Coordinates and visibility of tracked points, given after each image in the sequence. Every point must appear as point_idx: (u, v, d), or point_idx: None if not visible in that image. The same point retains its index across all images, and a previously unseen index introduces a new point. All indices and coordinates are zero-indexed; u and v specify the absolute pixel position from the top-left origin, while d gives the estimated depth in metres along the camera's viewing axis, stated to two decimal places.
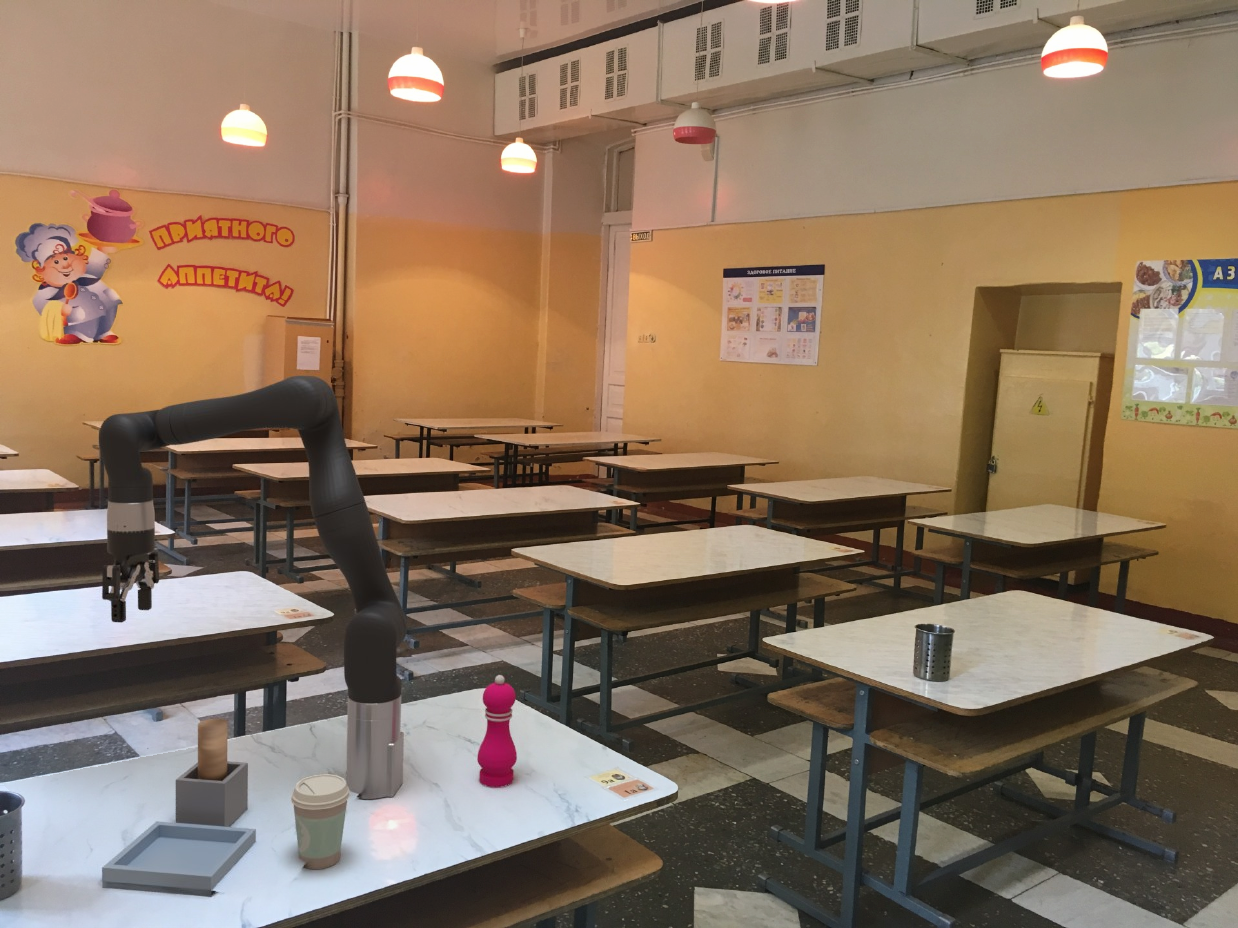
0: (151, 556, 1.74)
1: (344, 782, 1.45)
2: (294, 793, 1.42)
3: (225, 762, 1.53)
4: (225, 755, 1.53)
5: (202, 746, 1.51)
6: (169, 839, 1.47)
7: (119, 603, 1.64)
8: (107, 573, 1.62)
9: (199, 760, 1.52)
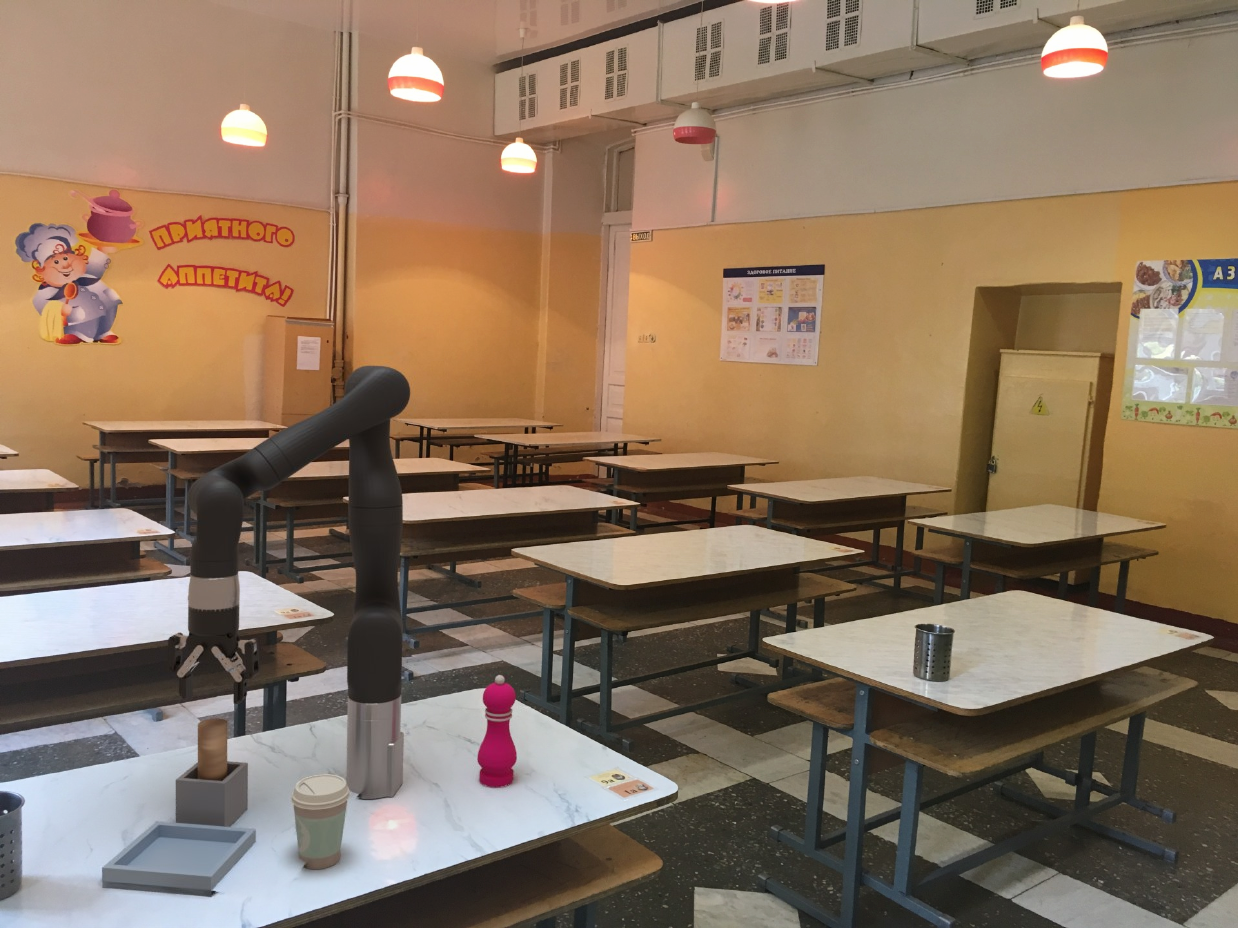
0: None
1: (344, 782, 1.45)
2: (294, 793, 1.42)
3: (225, 762, 1.53)
4: (225, 755, 1.53)
5: (202, 746, 1.51)
6: (169, 839, 1.47)
7: (246, 680, 1.52)
8: (254, 648, 1.51)
9: (199, 760, 1.52)
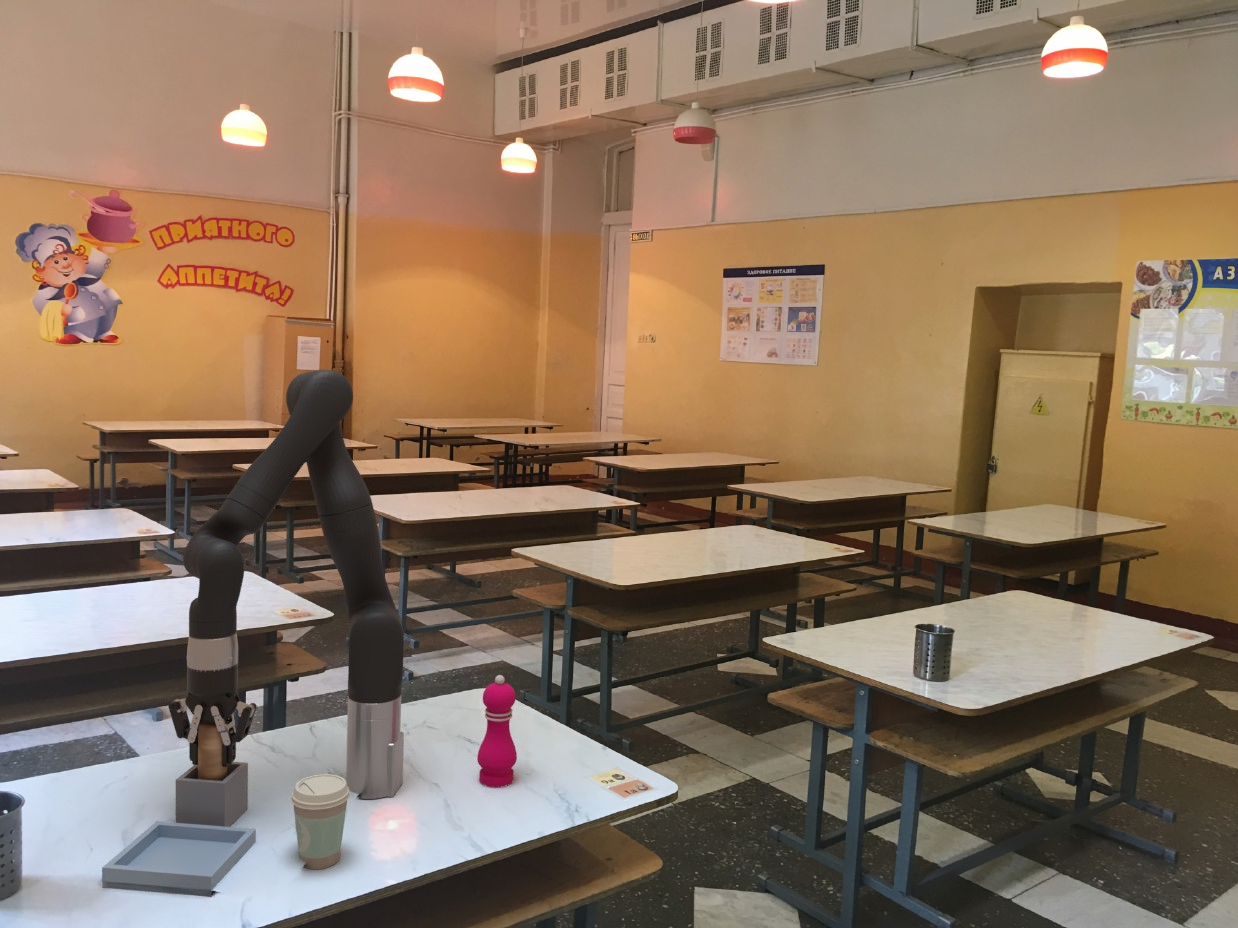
0: None
1: (344, 782, 1.45)
2: (294, 793, 1.42)
3: None
4: None
5: (203, 746, 1.51)
6: (169, 839, 1.47)
7: (234, 742, 1.54)
8: (250, 715, 1.52)
9: (199, 760, 1.52)
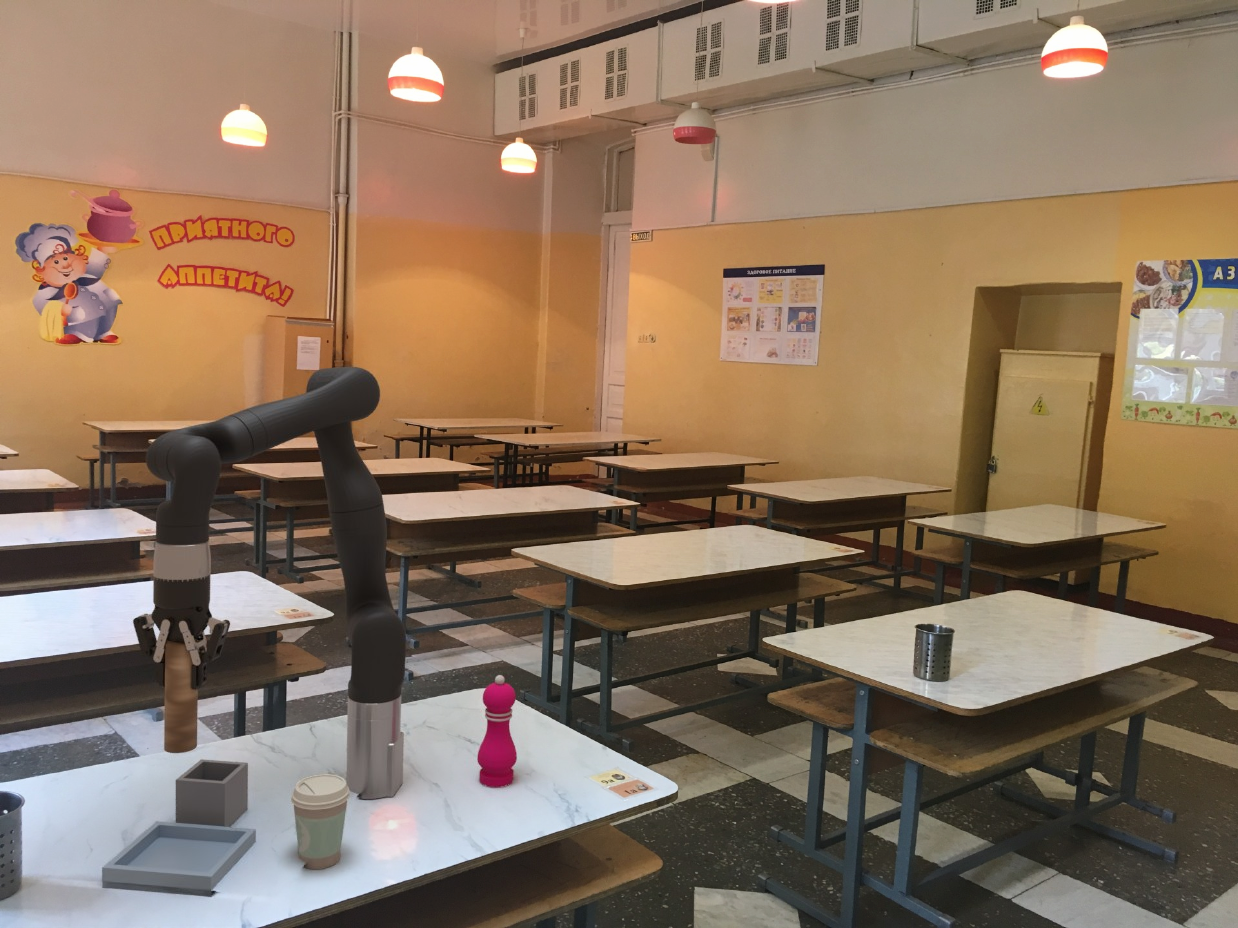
0: None
1: (344, 782, 1.45)
2: (294, 793, 1.42)
3: None
4: None
5: (170, 666, 1.37)
6: (169, 839, 1.47)
7: (205, 663, 1.39)
8: (223, 632, 1.37)
9: (166, 681, 1.37)
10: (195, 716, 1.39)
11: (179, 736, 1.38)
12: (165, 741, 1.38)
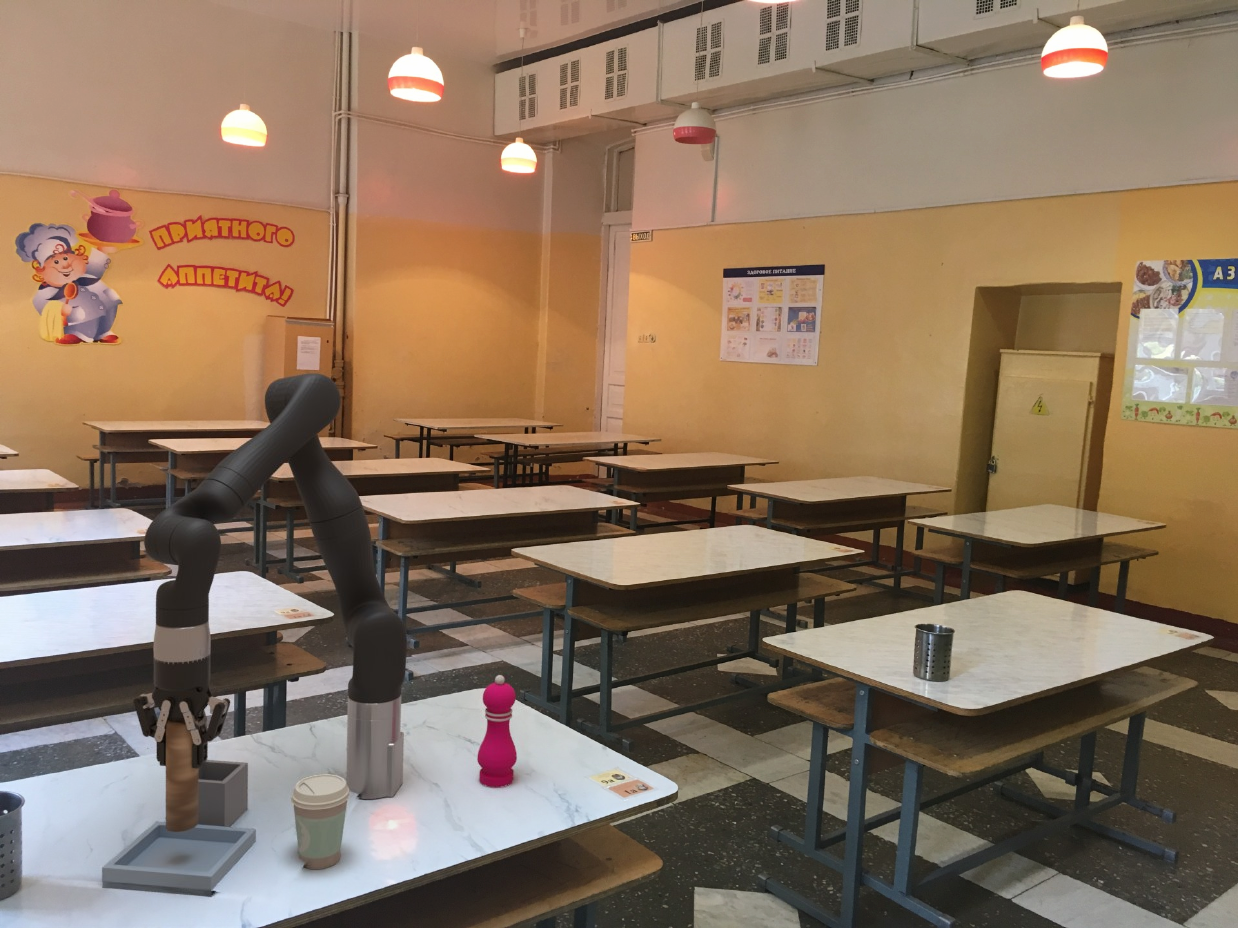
0: None
1: (344, 782, 1.45)
2: (294, 793, 1.42)
3: None
4: None
5: (171, 746, 1.38)
6: (169, 839, 1.47)
7: (206, 742, 1.40)
8: (223, 711, 1.38)
9: (167, 761, 1.38)
10: (196, 794, 1.40)
11: (181, 815, 1.39)
12: (166, 819, 1.39)
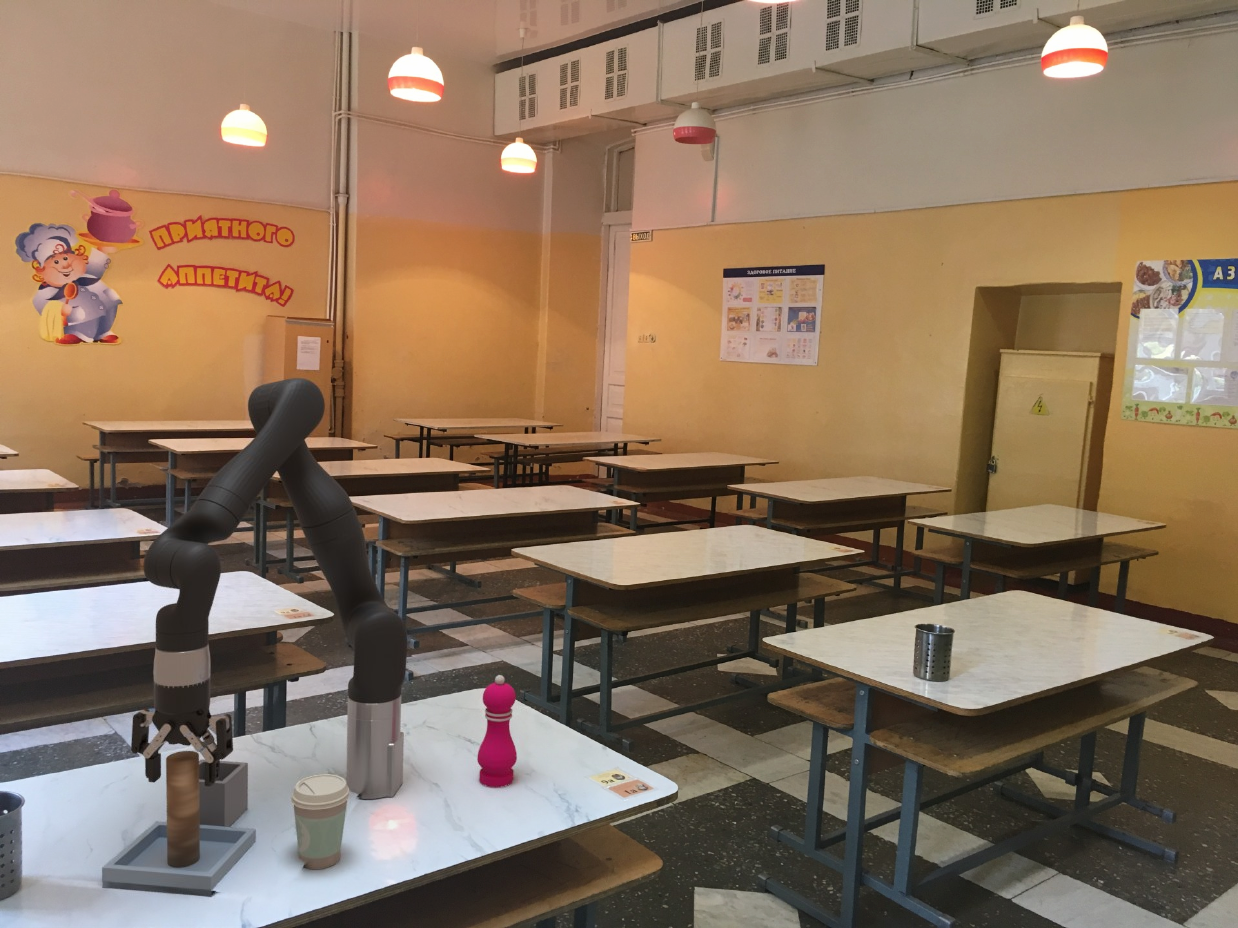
0: None
1: (344, 782, 1.45)
2: (294, 793, 1.42)
3: (197, 799, 1.40)
4: (196, 791, 1.40)
5: (171, 782, 1.38)
6: None
7: (218, 759, 1.40)
8: (226, 726, 1.39)
9: (168, 797, 1.39)
10: (197, 829, 1.41)
11: (182, 851, 1.39)
12: (168, 855, 1.40)
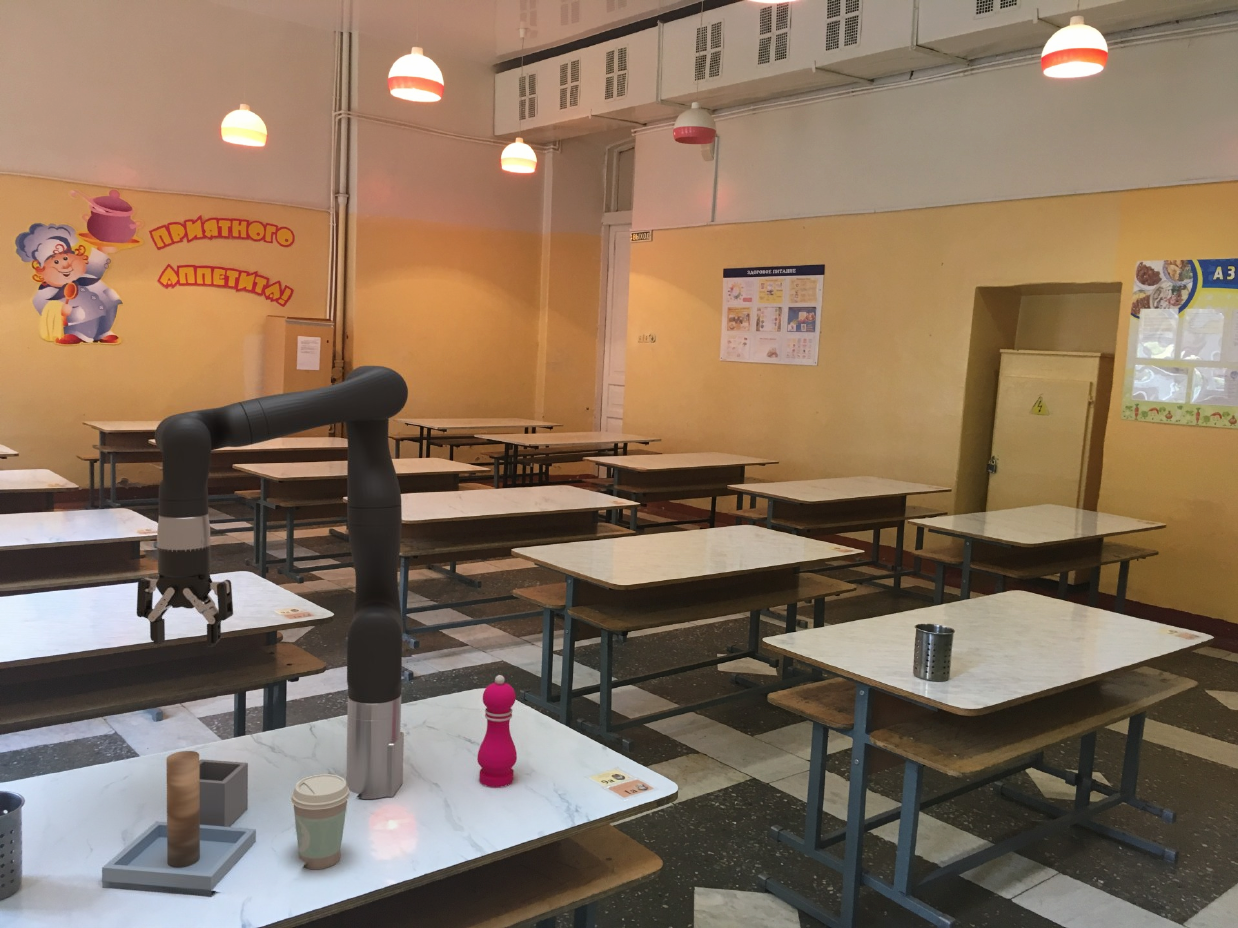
0: None
1: (344, 782, 1.45)
2: (294, 793, 1.42)
3: (197, 799, 1.40)
4: (197, 791, 1.40)
5: (171, 783, 1.38)
6: None
7: None
8: (227, 589, 1.48)
9: (168, 797, 1.39)
10: (197, 829, 1.41)
11: (182, 851, 1.39)
12: (168, 855, 1.40)
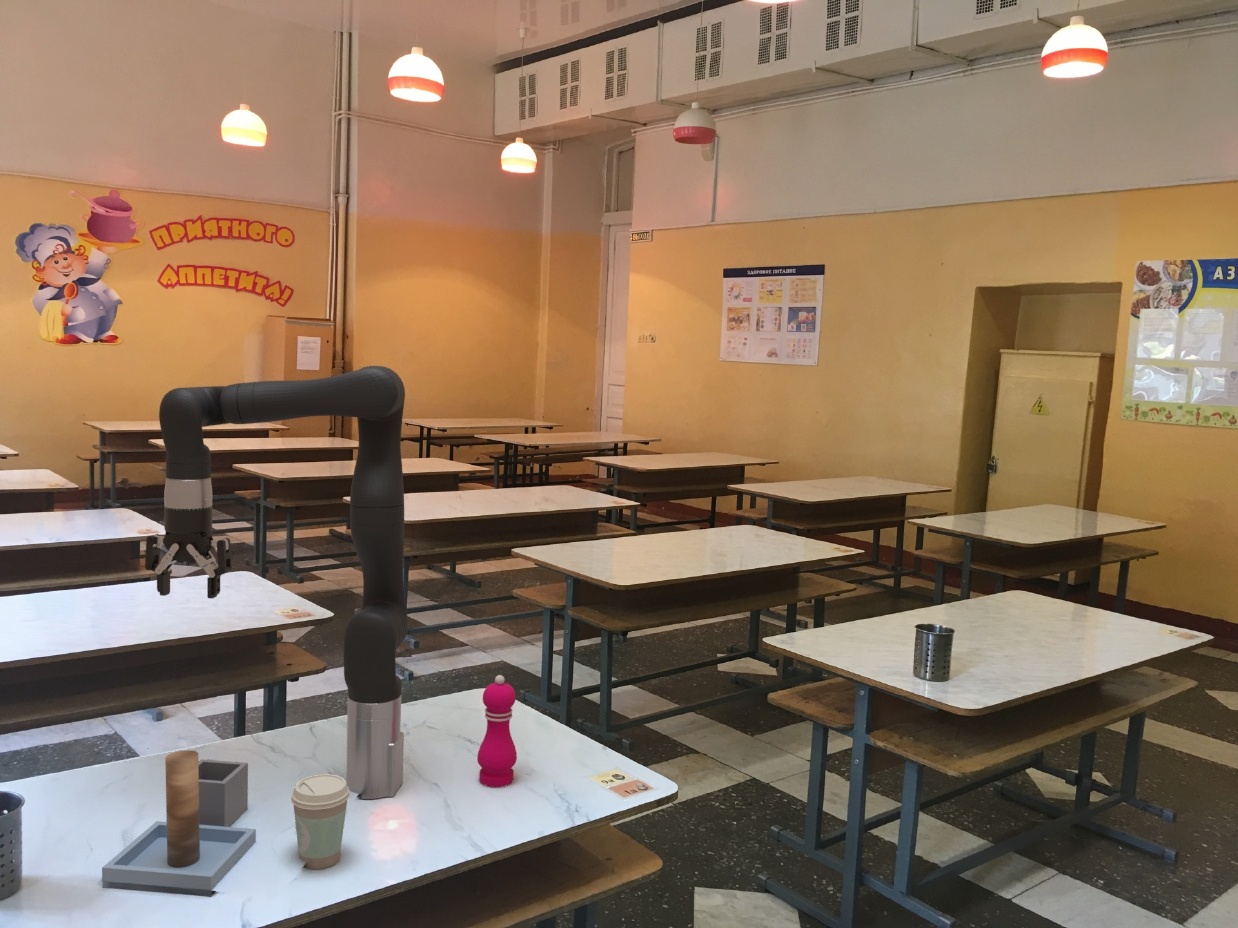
0: None
1: (344, 782, 1.45)
2: (294, 793, 1.42)
3: (196, 798, 1.40)
4: (196, 791, 1.40)
5: (170, 782, 1.38)
6: None
7: (219, 577, 1.65)
8: (226, 546, 1.63)
9: (167, 797, 1.39)
10: (197, 829, 1.41)
11: (182, 850, 1.39)
12: (168, 855, 1.40)
